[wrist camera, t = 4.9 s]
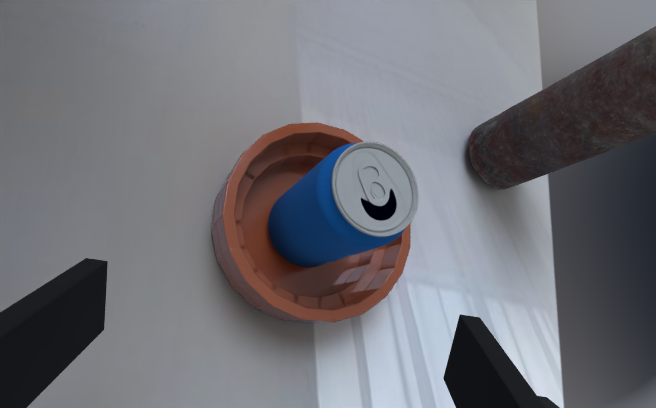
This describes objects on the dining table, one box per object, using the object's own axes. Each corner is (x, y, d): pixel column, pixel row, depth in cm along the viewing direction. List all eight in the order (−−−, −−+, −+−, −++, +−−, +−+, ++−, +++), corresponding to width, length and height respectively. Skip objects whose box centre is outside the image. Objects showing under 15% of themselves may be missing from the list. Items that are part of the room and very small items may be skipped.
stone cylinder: (467, 194, 43) (695, 106, 26) (452, 127, 45) (657, 1, 27) (520, 190, 47) (754, 110, 29) (504, 128, 48) (717, 16, 30)
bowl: (168, 229, 31) (174, 214, 26) (294, 115, 37) (315, 87, 33) (310, 361, 32) (337, 367, 28) (406, 230, 39) (440, 218, 35)
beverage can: (280, 279, 33) (350, 259, 22) (254, 202, 33) (308, 146, 23) (349, 254, 36) (439, 225, 25) (324, 183, 36) (401, 125, 26)
